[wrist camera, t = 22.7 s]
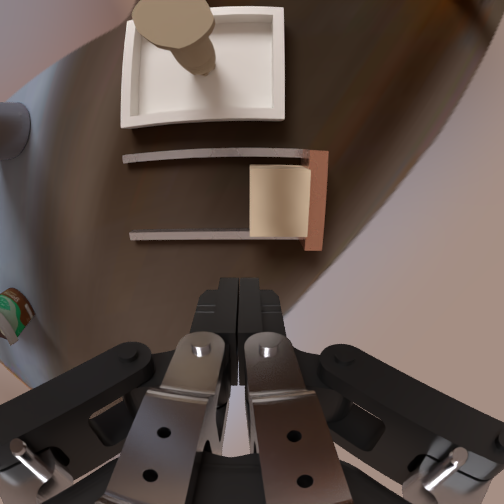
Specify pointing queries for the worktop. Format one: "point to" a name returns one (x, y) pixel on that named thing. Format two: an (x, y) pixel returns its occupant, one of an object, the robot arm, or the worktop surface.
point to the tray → (217, 81)
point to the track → (312, 242)
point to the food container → (14, 314)
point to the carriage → (279, 200)
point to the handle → (179, 31)
